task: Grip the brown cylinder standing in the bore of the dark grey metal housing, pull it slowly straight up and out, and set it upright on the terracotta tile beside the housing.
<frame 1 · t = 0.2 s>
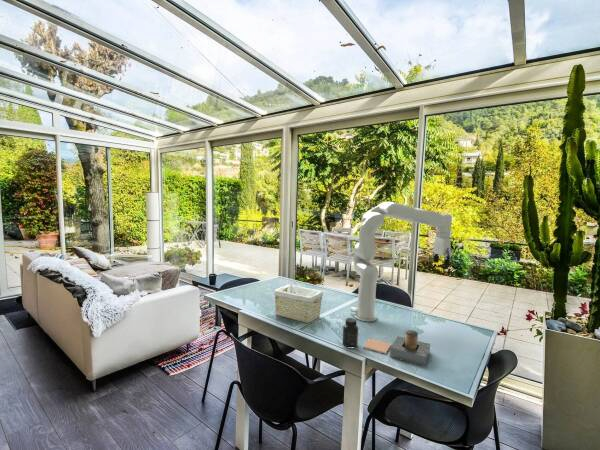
hand: (441, 264, 181), 31 cm above the table, tool pointing down, fingers open, 9 cm apart
tile: (377, 346, 140), on the table
supplement bottle: (349, 345, 141), on the table
brown cylinder: (410, 343, 134), in the housing
housing: (410, 354, 134), on the table
storage basket: (297, 316, 175), on the table
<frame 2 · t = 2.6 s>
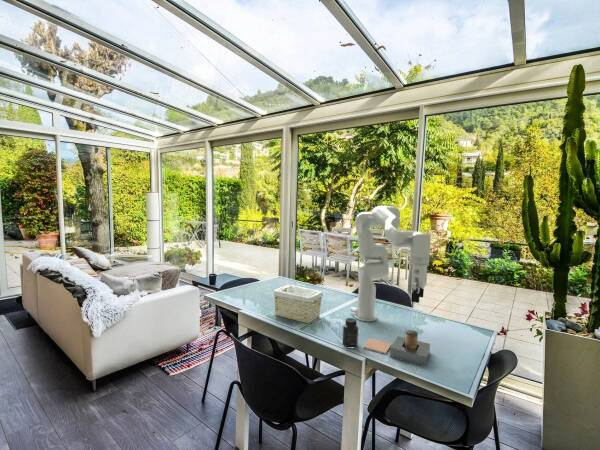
hand: (417, 299, 136), 23 cm above the table, tool pointing down, fingers open, 9 cm apart
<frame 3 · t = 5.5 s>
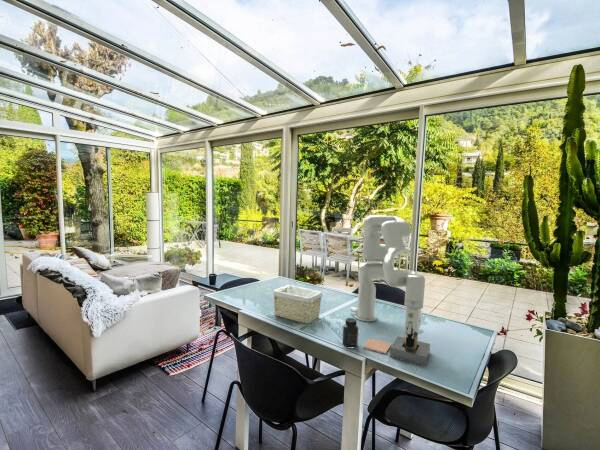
hand: (410, 343, 134), 5 cm above the table, tool pointing down, fingers closed on brown cylinder, 5 cm apart
brown cylinder: (410, 343, 134), in the housing, touching gripper
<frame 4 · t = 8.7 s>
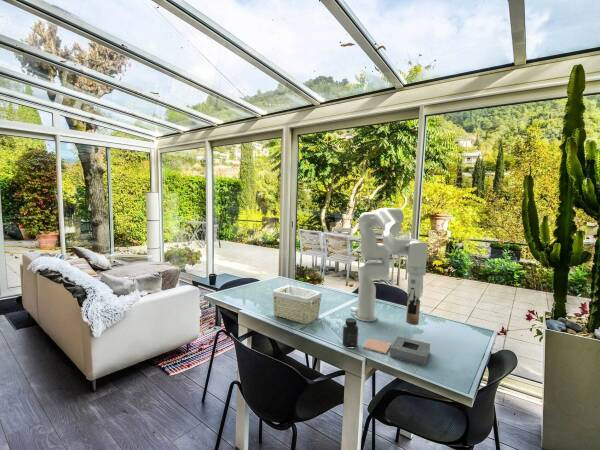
hand: (413, 311, 133), 19 cm above the table, tool pointing down, fingers closed on brown cylinder, 5 cm apart
brown cylinder: (413, 311, 133), point 19 cm above the table, touching gripper
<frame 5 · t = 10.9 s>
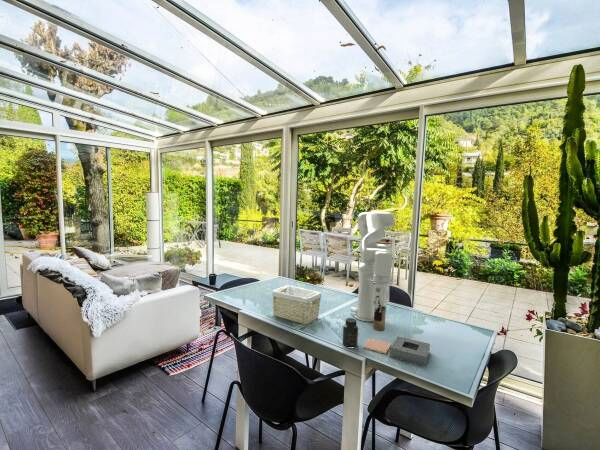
hand: (379, 318, 139), 13 cm above the table, tool pointing down, fingers closed on brown cylinder, 5 cm apart
brown cylinder: (379, 318, 139), point 13 cm above the table, touching gripper
when the fingers open (7 cm above the table, at t = 12.4 s): brown cylinder drops 1 cm, resting on tile.
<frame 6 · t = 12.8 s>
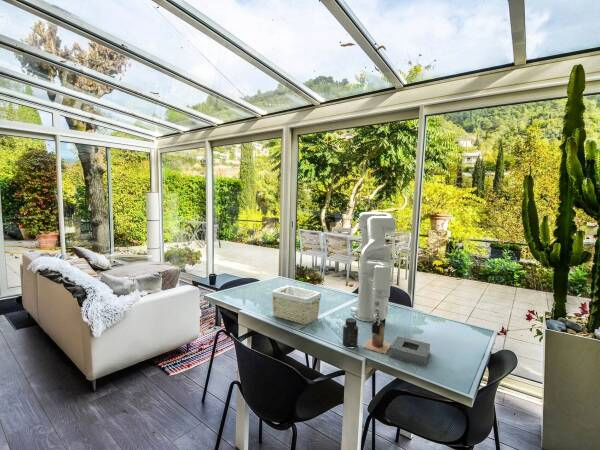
hand: (378, 329, 140), 8 cm above the table, tool pointing down, fingers open, 9 cm apart
brown cylinder: (378, 334, 140), on the tile, point 6 cm above the table
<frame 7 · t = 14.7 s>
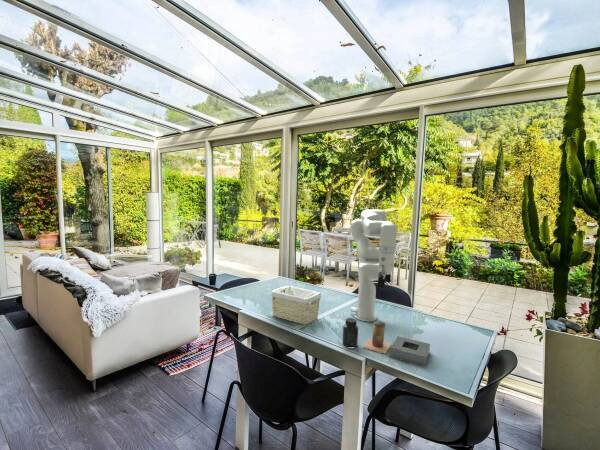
hand: (384, 284, 149), 26 cm above the table, tool pointing down, fingers open, 9 cm apart
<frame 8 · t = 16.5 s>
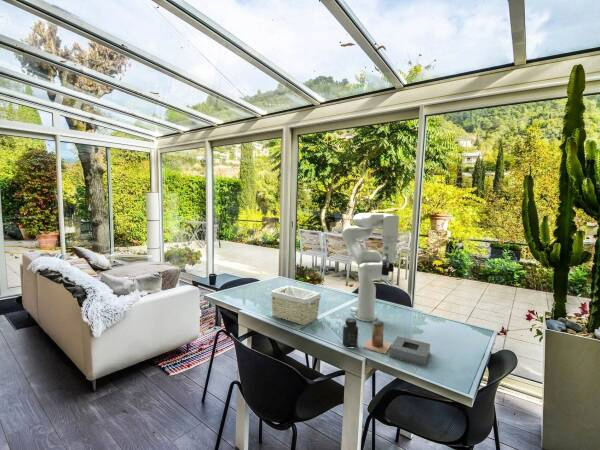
hand: (387, 273, 155), 30 cm above the table, tool pointing down, fingers open, 9 cm apart
at the end: brown cylinder inside the target area on the tile (0.2 cm from its centre), point 5.9 cm above the tile's base; brown cylinder tilted 3°; brown cylinder touching tile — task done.
